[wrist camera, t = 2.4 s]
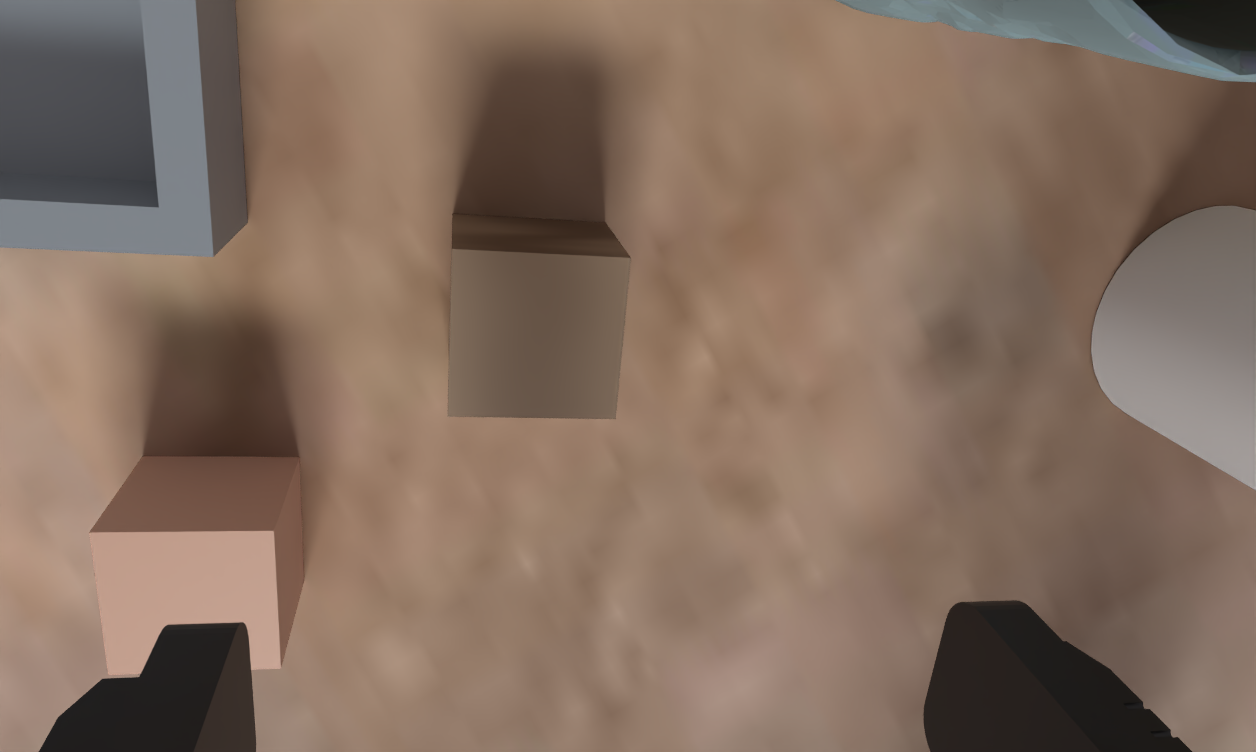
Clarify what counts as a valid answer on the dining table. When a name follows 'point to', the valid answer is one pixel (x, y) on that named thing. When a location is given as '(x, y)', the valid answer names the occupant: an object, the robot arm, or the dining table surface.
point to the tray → (120, 126)
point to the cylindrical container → (1187, 336)
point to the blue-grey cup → (1108, 28)
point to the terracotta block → (200, 554)
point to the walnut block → (535, 318)
